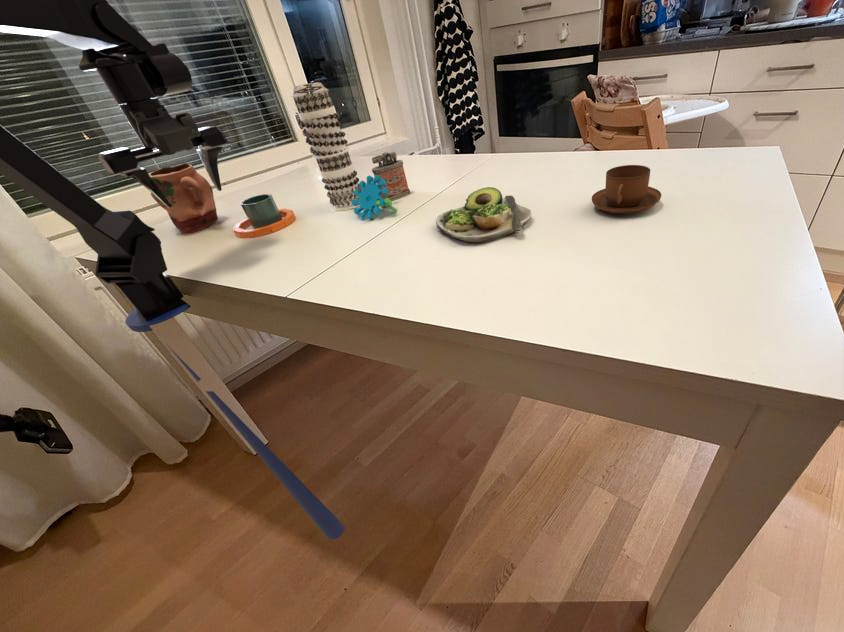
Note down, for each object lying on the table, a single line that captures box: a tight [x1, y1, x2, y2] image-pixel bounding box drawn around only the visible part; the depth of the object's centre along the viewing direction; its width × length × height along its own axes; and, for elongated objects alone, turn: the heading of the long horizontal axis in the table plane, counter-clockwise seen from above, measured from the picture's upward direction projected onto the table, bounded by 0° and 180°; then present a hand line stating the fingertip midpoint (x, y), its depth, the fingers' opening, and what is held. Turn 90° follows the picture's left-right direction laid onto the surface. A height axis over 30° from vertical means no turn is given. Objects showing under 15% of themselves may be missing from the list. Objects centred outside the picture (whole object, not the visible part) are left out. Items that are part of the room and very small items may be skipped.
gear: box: [352, 175, 398, 220], centre depth 89 cm, size 11×6×10 cm
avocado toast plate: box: [435, 186, 532, 243], centre depth 74 cm, size 19×18×5 cm
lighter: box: [371, 151, 411, 202], centre depth 94 cm, size 8×3×10 cm, turn 130°
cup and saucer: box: [591, 164, 662, 214], centre depth 71 cm, size 12×12×6 cm
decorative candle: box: [291, 81, 361, 212], centre depth 90 cm, size 9×9×25 cm
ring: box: [232, 208, 296, 239], centre depth 94 cm, size 14×14×1 cm
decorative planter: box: [148, 162, 219, 233], centre depth 98 cm, size 20×12×14 cm, turn 64°
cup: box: [240, 193, 284, 229], centre depth 93 cm, size 7×7×6 cm
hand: (195, 198), depth 74 cm, fingers open, 9 cm apart
